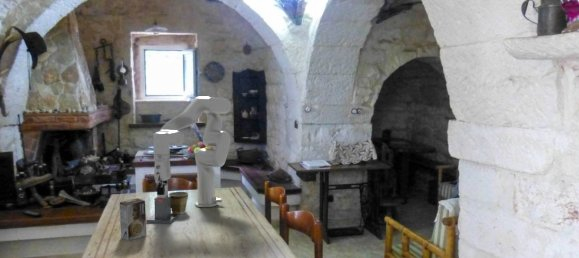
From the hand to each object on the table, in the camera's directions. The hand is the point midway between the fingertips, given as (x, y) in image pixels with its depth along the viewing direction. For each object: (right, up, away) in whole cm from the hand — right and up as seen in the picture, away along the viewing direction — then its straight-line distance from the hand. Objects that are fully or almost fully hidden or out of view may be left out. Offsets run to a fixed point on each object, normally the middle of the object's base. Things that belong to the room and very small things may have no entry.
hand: (162, 193), depth 225 cm
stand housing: (0, -13, +1) cm, 13 cm away
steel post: (0, -11, +1) cm, 11 cm away
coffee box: (-6, -16, -24) cm, 29 cm away
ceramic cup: (+4, -12, +15) cm, 20 cm away
